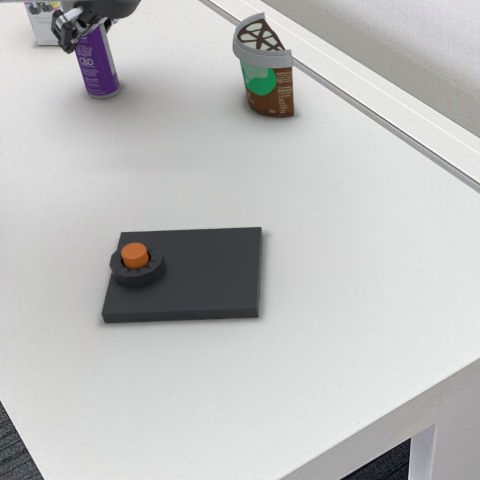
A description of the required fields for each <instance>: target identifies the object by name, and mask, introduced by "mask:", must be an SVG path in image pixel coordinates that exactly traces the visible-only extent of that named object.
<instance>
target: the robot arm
mask: <svg viewBox="0 0 480 480" xmlns="http://www.w3.org/2000/svg"><path fill="white" fill-rule="evenodd" d="M60 1H75V2H74V3H73V6H72V7H71V8H70V10H69V11H68V12H67V13H64V12H62V11H61V10H60V9H58V10H55V11H54V13H53V14H52V22H51V31H52V33H53V34H54V35H55V37H56V38H57V39H58V44H59V45H58V46H59V47H60V48H61V50H62V51H63V52H64V53H66V54H67V55H70V54H72V53H75V48H76V46H77V44H78V42H79V40H80V39H81V38H82V37H83V36H85V35H88V34H91V33H92V32H93V31H94V30H95V28H96V27H97V26H98V25H99V24H101V23H104V27H105V31H106V35H107V34H108V33H109V31H110V29H111V28H112V26H113V25H116V24H117V23H118V22H119V21H120V20H122V19H125V18H128V17H130V16H131V15H133V14H134V12H135V11H136V10H137V9H138V6H139V5H140V3H141V2H142V0H0V4H14V3H18V4H19V3H24V2H60ZM73 24H74V25H75V27H76V28H77V30H78V32H77V33H76V32H75V31H74V30H75V27H74V26H73ZM87 24H89V25H88V26H87Z"/></svg>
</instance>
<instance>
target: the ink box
mask: <svg viewBox="0 0 480 480" xmlns="http://www.w3.org/2000/svg"><path fill="white" fill-rule="evenodd" d="M23 5H24V8H25V10H26V14H27V17H28V20H29V22H30V26H31V28H32V31H33V35H34V38H35V40H36V43H37V45H38V46H59V44H58V39H57V38H56V37H55V35H54V34H53V33H52V31H51V22H52V14H53V13H54V11H55V10H58V9H60V10H61V11H62V12H63V8H62V5H61V1H60V2H23Z"/></svg>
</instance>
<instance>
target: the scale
mask: <svg viewBox="0 0 480 480" xmlns="http://www.w3.org/2000/svg"><path fill="white" fill-rule="evenodd" d="M119 234H120V235H119V239H118V243H117V247H116V250H115V251H114V252H113V253H112V254H111V256H110V260H109V264H108V265H109V268H110V277H109V280H108V285H107V288H106V292H105V296H104V300H103V306H102V309H101V313H100V315H101V318H102V321H103V322H104V324H117V323H119V324H120V323H141V322H144V323H145V322H166V321H167V322H169V321H192V320H193V321H194V320H215V319H216V320H217V319H219V320H220V319H221V320H222V319H247V318H259V313H260V296H261V295H260V293H261V277H262V276H261V274H262V255H263V238H264V235H263V227H262V226H246V227H243V226H241V227H219V228H218V227H217V228H194V229H191V228H190V229H189V228H188V229H166V230H165V229H164V230H163V229H162V230H137V231H121V232H120V233H119ZM131 243H141V244H143V245H144V246H145V247H146V250H147V254H148V257H149V262H148V264H147V265H146V266H143V267H141V268H138V269H129V268H127V267H126V266H125V264H124V261H123V258H122V254H121V251H122V249H123V248H124V247H125V246H126V245H128V244H131Z"/></svg>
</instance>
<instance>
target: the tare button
mask: <svg viewBox="0 0 480 480" xmlns="http://www.w3.org/2000/svg"><path fill="white" fill-rule="evenodd" d="M121 254H122V258H123V261H124V264H125V266H126V267H127V268H129V269H138V268H141V267H143V266H146V265H147V264H148V262H149V257H148V254H147V250H146V247H145V246H144V245H143V244H141V243H131V244H128V245H126V246H125V247H124V248H123V249H122V251H121Z"/></svg>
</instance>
